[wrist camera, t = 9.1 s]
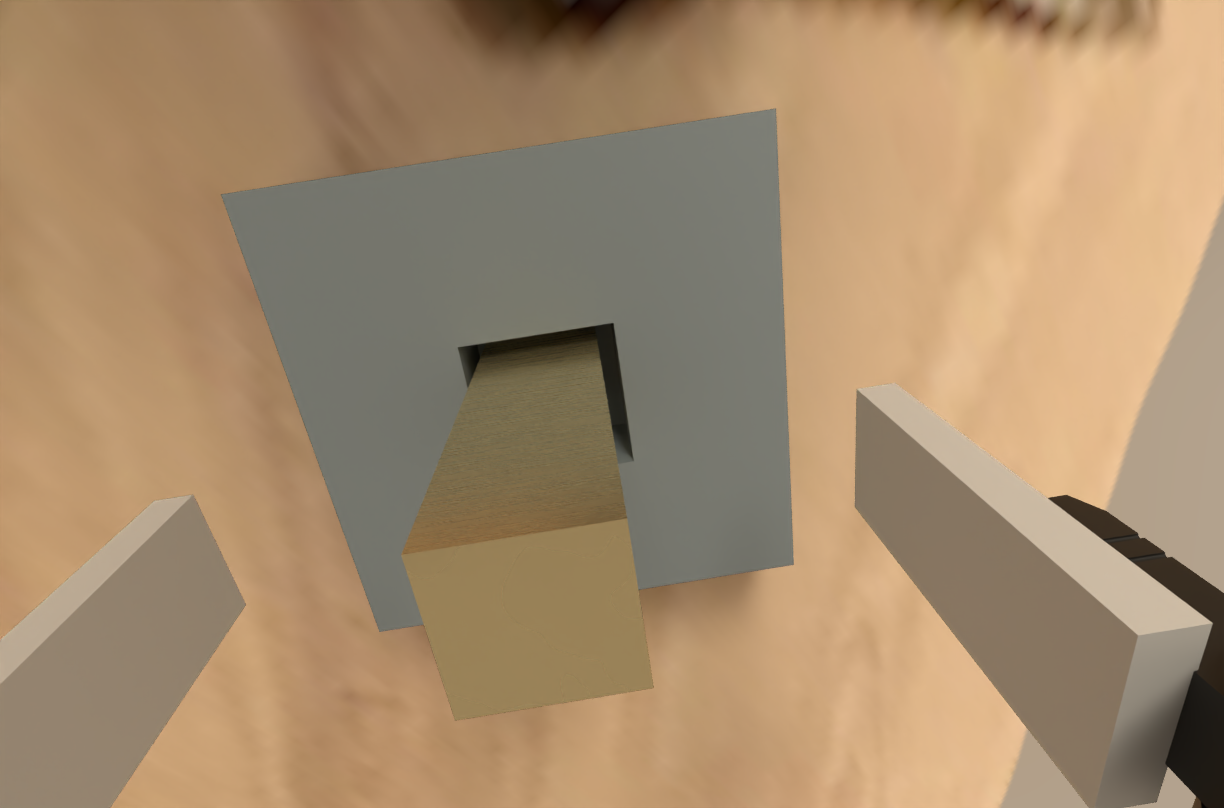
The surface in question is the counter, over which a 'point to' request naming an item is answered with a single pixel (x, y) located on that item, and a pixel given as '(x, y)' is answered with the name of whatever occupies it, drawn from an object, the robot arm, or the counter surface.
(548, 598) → the pin
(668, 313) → the bore block
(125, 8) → the counter surface
